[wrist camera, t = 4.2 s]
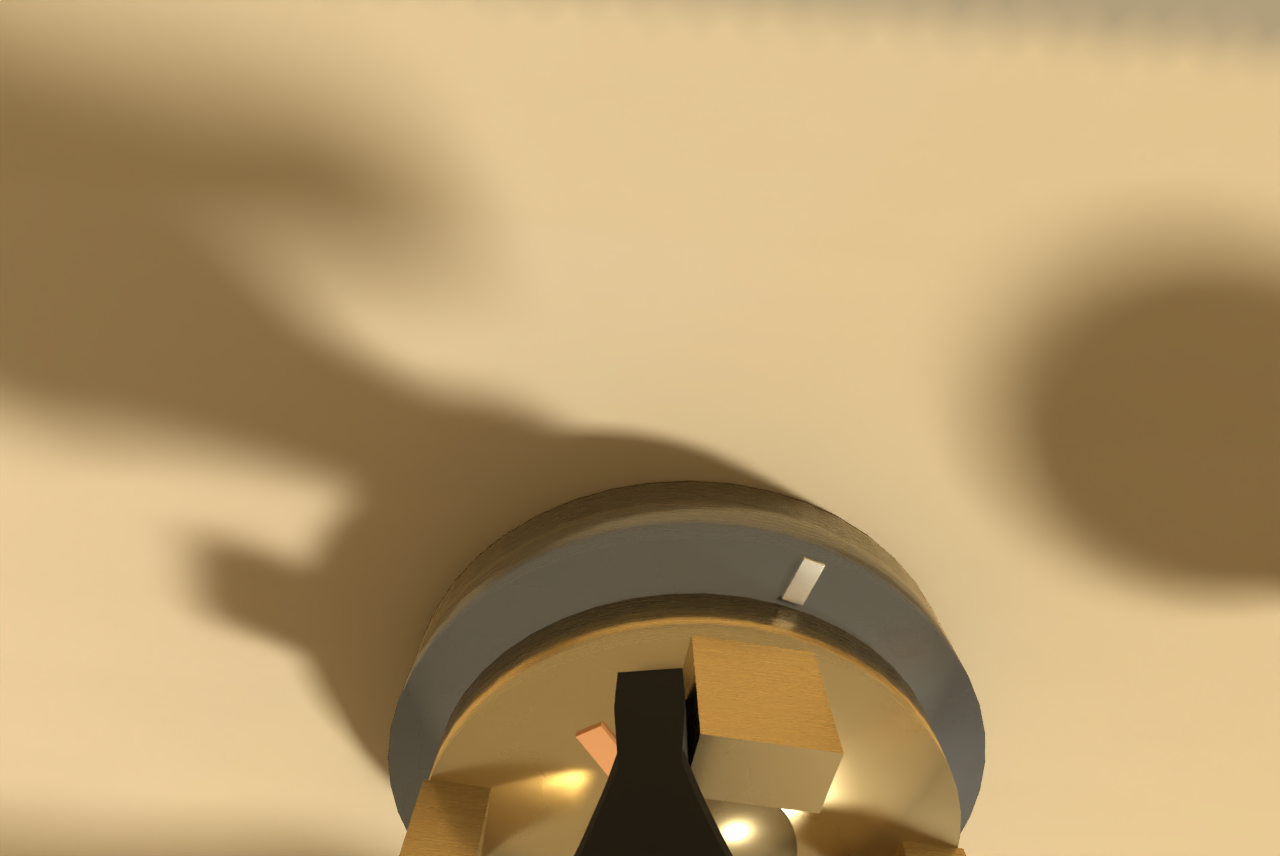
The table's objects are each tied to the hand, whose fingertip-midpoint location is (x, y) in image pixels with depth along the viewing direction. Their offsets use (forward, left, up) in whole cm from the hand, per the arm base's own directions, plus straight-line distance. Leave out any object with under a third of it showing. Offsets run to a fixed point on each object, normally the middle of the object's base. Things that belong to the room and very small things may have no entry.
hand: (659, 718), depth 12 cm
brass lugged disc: (-2, -3, -2) cm, 4 cm away
